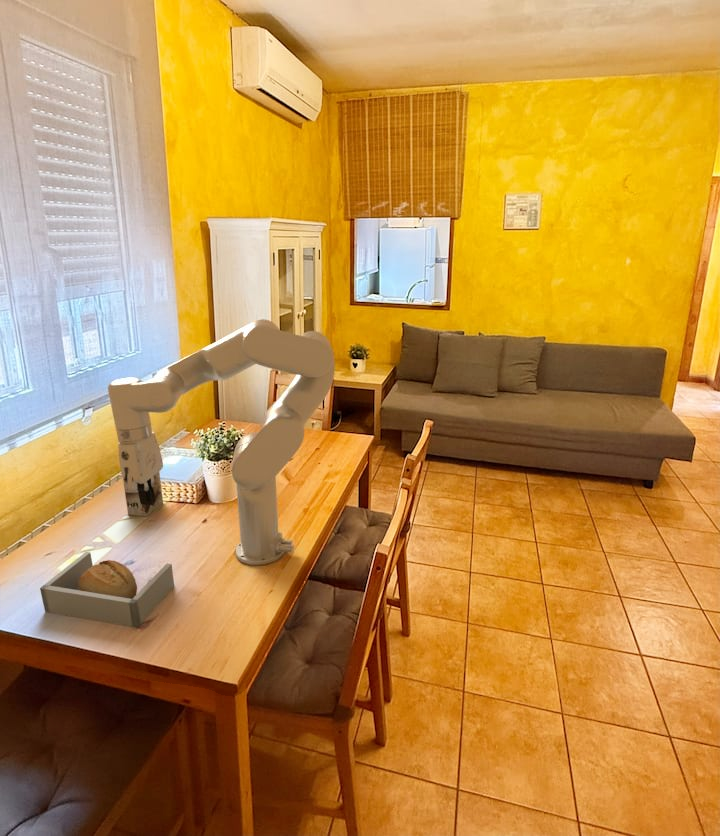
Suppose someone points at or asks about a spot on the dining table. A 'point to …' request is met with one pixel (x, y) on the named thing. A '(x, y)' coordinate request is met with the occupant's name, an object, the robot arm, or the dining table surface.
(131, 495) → the coffee box
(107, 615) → the box
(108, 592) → the bread roll
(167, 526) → the dining table surface
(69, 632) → the dining table surface
